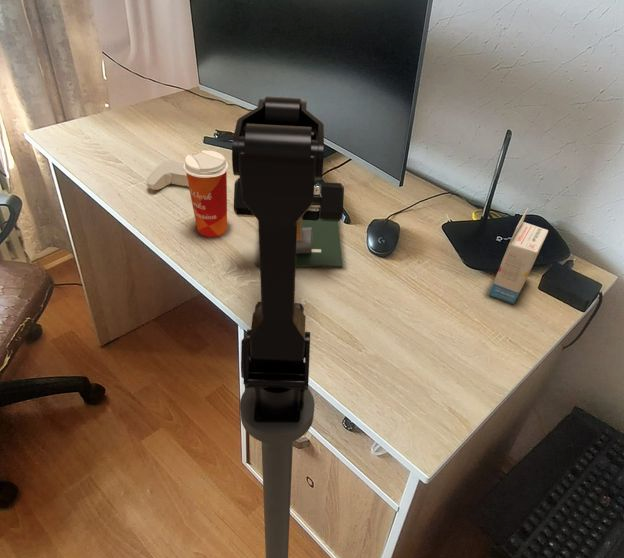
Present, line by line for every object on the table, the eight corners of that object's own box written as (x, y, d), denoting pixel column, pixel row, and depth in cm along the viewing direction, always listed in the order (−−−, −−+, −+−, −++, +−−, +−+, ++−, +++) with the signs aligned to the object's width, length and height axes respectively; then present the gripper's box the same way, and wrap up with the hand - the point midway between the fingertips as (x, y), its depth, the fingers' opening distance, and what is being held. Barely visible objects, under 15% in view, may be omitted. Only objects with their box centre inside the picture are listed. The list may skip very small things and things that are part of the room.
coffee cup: (184, 226, 107) (173, 156, 96) (217, 213, 111) (211, 144, 100) (207, 245, 103) (199, 175, 92) (241, 231, 107) (237, 161, 96)
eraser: (311, 253, 100) (305, 189, 91) (275, 254, 101) (265, 191, 91) (312, 238, 104) (306, 175, 94) (278, 239, 104) (268, 177, 95)
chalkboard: (342, 268, 100) (342, 265, 100) (259, 266, 99) (259, 263, 99) (335, 201, 116) (335, 198, 116) (263, 199, 116) (263, 196, 115)
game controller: (140, 180, 112) (158, 151, 117) (146, 196, 116) (163, 167, 121) (203, 192, 110) (219, 161, 115) (207, 207, 114) (222, 177, 119)
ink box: (514, 305, 95) (544, 237, 84) (487, 295, 97) (514, 227, 86) (526, 281, 100) (556, 214, 89) (500, 271, 102) (527, 205, 91)
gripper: (348, 140, 82) (342, 169, 98) (230, 134, 82) (242, 164, 98) (345, 211, 83) (339, 229, 98) (227, 205, 83) (240, 224, 98)
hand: (290, 210), depth 98 cm, fingers closed on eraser, 4 cm apart
